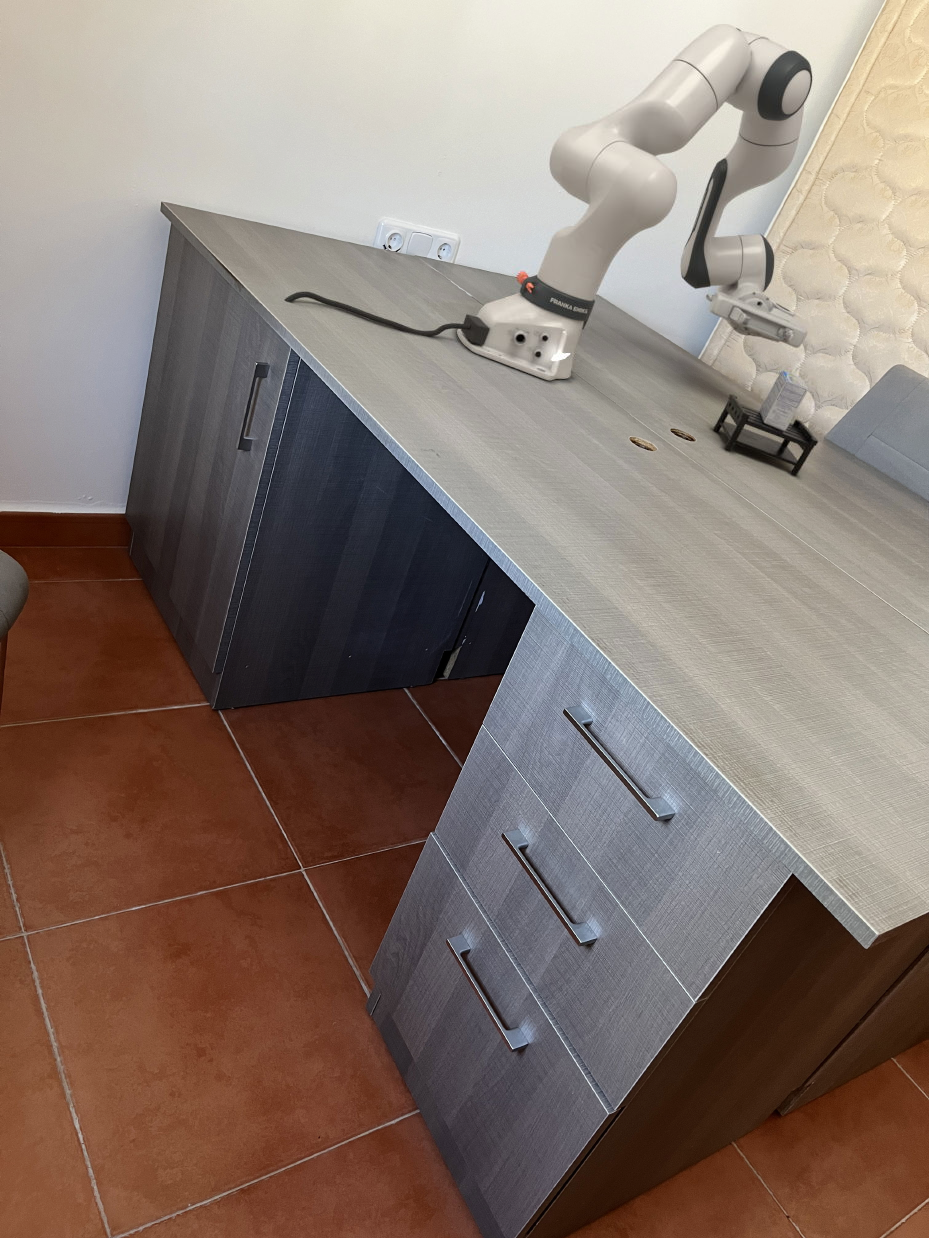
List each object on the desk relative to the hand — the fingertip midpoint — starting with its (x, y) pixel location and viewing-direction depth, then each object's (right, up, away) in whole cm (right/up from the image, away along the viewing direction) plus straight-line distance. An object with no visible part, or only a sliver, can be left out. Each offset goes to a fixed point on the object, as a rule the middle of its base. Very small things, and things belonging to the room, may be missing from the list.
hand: (766, 329), depth 181 cm
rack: (-4, -25, -4) cm, 25 cm away
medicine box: (-2, -20, -7) cm, 21 cm away
